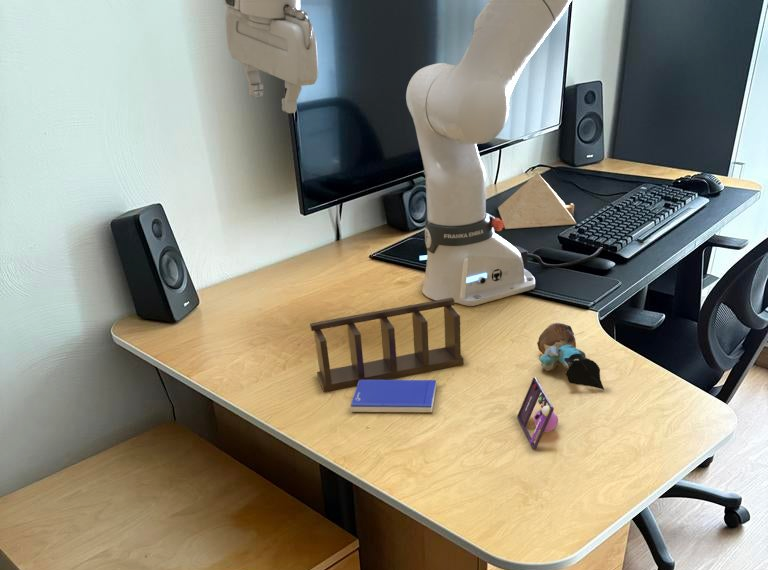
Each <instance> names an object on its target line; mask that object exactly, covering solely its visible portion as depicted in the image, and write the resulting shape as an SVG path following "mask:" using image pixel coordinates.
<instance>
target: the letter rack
mask: <svg viewBox="0 0 768 570" xmlns="http://www.w3.org/2000/svg"><path fill="white" fill-rule="evenodd" d="M453 306H455V303H454V299H453V298H447V299H441V300H430V301H425V302H420V303H413V304H409V305H403V306H398V307H393V308H392V307H391V308H386V309H380V310H376V311H370V312H369V311H368V312H365V313H358V314H353V315H349V316H341V317H336V318H332V319H325V320H320V321H316V322H315V321H314V322H309V328H310V331H311V332H313V333H314V340H315V341H314V342H315V347H316V354H317V355H316V356H317V362H318V369H319V370H318V371H316V377H317V380H318V383H319V384H320V387H321V389H322V391H323V393H325V392H326V393H327V392H331V391H336V390H342V389H346V388H347V389H348V388H352V387H357V385H358V382H359V380H394V379H397V378H402V377H407V376H413V375H417V374H423V373H427V372H432V371H437V370H443V369H447V368H452V367H459V366H463V365H464V363H465V361H464V360H465V359H464V357H463V356H462V354H461V347H462V346H461V314H459V313H458V312H457V310H456V309H455V308H454V307H453ZM440 308H443V314H444V315H443V316H444V317H443V318H444V319H443V321H444V322H443V323H444V347H443V346H442V347H438V348H433V349H429V328H428V324H429V323H428V320H427V319H426V318H425V316H424V315H423V314H422V313H421V312H424V311H431V310H434V309H435V310H436V309H440ZM408 314H409V315H410V314H411V315H412V334H413V335H412V336H413V351H414V352H413V353H407V354H403V355H398V356H397V348H396V347H397V346H396V334H395V326H393V324H392V322H391V321H390V320H389V318H392V317H397V316H403V315H408ZM375 320H379V322H380V323H379V324H380V333H381V334H380V335H381V336H380V337H381V347H382V358H381V359H376V360H371V361H366V362H364V355H363V345H362V335H361V333H360V331H359V329H358V327H357V326H356V324H359V323H364V322H365V323H366V322H370V321H375ZM343 326H347V336H348V344H349V353H350V361H351V365H346V366H340V367H335V368H331V365H330V358H329V357H330V356H329V352H328V351H329V350H328V344H327V339H326V337H325V335H324V333H323V331H322V330H327V329H331V328H336V327H343Z"/></svg>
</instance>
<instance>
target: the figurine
mask: <svg viewBox="0 0 768 570" xmlns="http://www.w3.org/2000/svg"><path fill="white" fill-rule="evenodd" d="M576 341H577V340H576V338H575V332H574V331H573V328H572V326H570V325H567V324H565V323H562V322H554V323H551V324H550V325H548V326H547V327H546V328H545V329H544V330H542V332H541V333H540V334H539V337H538V341H537V342H536V344H537V349H538V350H539V352H540V353H541V354H542V355H541V356H540V357H539V362H540V367H541V368H542V369H543V370H544V371H546V372H550V371H553V370H554V369H556V368H557V366H560V367H561V366H563V367H564V368H566V372H565V376H566V379H567V383H569V384H573V385H576V386H587V387H591V388H596V389H600V390H603V391H606V389H605V388H604V385H603V383H602V380H601V368H600V367H599V365H598V364H597V362H595V361H594V360H592V359H590V358H588V357H586V353H585V352H584V351H582V350H581V349H578V348H577V343H576Z"/></svg>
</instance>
